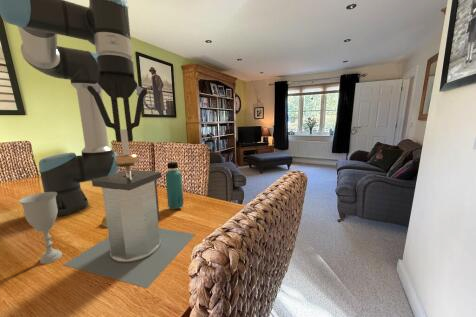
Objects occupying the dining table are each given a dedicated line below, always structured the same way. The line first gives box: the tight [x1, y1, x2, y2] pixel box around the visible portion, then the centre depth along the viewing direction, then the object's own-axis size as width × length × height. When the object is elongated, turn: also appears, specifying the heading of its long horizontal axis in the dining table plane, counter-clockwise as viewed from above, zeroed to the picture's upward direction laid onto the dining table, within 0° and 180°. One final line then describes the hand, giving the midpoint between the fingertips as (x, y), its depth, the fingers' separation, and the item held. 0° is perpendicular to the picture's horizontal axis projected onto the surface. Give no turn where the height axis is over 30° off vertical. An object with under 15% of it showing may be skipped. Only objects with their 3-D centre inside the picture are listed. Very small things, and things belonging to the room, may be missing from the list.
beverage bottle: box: [164, 161, 185, 209], centre depth 83 cm, size 6×7×20 cm
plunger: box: [115, 153, 139, 178], centre depth 55 cm, size 9×9×23 cm
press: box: [91, 169, 162, 263], centre depth 58 cm, size 13×16×22 cm
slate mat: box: [63, 227, 197, 289], centre depth 58 cm, size 26×22×1 cm
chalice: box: [18, 191, 63, 265], centre depth 53 cm, size 7×7×18 cm
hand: (126, 154), depth 53 cm, fingers closed
